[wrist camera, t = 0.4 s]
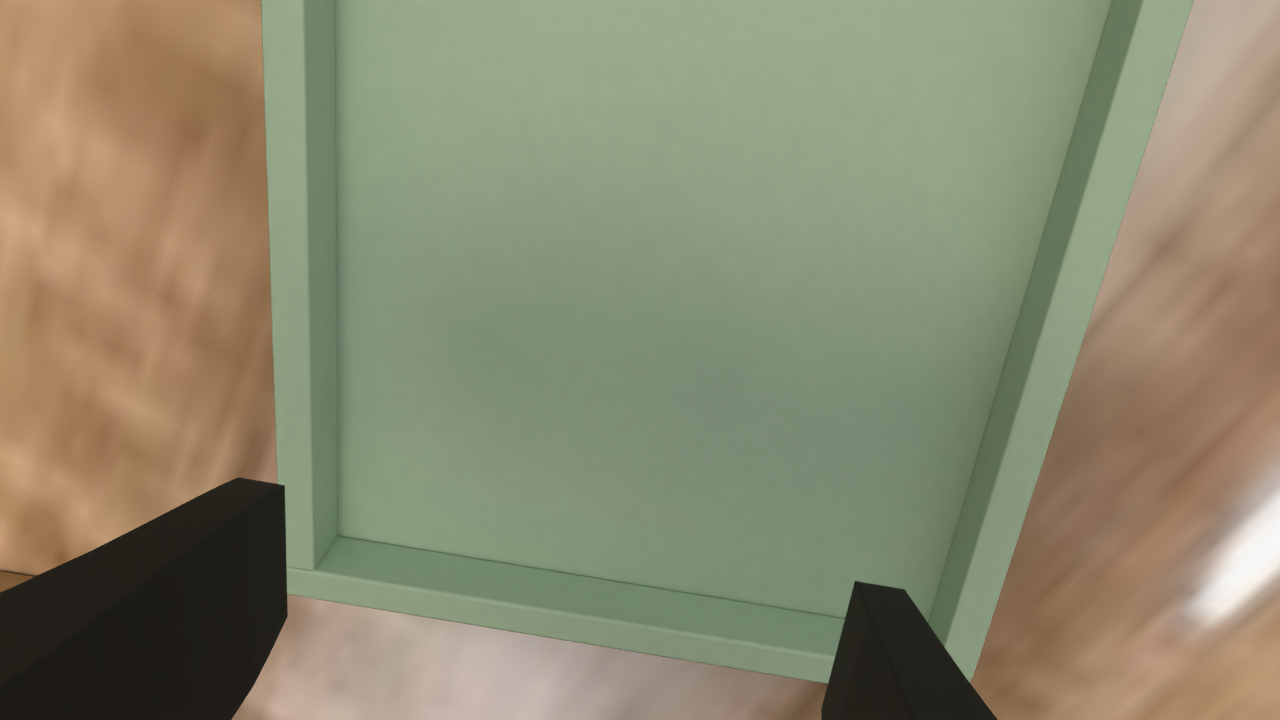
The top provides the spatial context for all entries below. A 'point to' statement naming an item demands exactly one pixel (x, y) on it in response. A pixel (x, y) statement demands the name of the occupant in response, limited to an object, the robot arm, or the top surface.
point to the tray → (686, 302)
